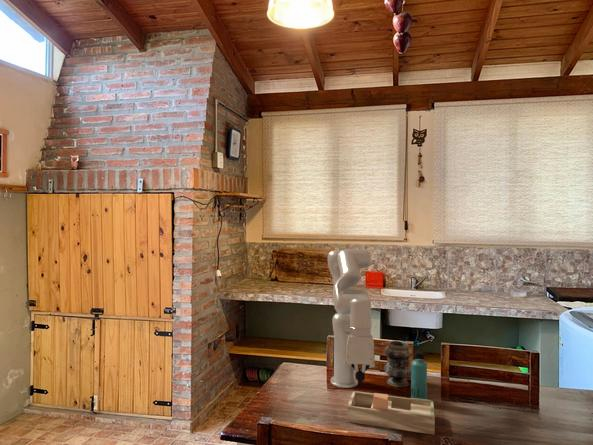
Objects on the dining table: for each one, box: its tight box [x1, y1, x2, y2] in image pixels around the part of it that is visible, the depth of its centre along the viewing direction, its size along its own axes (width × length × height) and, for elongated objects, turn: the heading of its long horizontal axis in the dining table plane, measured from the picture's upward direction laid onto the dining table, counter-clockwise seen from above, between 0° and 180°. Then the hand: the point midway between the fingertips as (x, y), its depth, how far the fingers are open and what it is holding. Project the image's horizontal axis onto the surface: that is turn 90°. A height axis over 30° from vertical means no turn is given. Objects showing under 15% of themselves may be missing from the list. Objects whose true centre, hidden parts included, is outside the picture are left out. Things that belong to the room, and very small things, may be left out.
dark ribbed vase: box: [383, 340, 413, 388], centre depth 183 cm, size 12×12×18 cm
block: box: [373, 392, 389, 411], centre depth 148 cm, size 5×5×5 cm
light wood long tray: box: [346, 390, 436, 436], centre depth 150 cm, size 14×30×6 cm, turn 74°
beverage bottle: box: [410, 350, 428, 400], centre depth 164 cm, size 6×7×20 cm
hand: (360, 381), depth 149 cm, fingers closed
